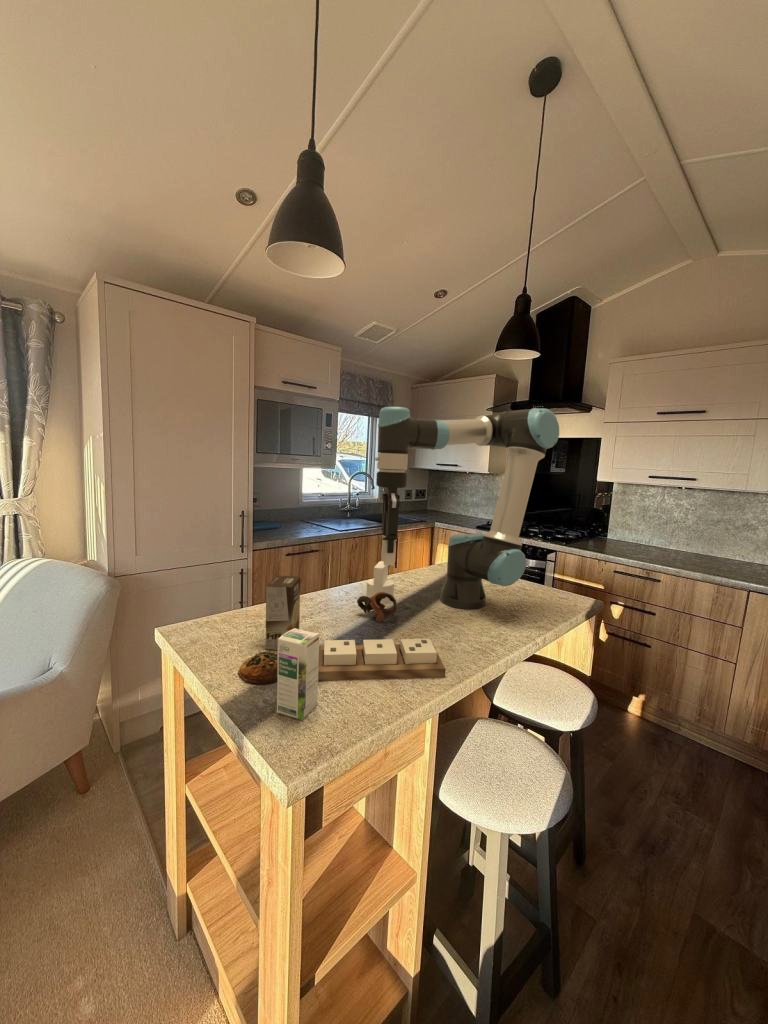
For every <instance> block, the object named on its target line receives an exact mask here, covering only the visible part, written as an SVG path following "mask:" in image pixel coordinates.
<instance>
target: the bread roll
mask: <svg viewBox="0 0 768 1024" xmlns="http://www.w3.org/2000/svg"><path fill="white" fill-rule="evenodd" d="M277 658H278V651H277V652H276V651H271V650H266V651H260V652H259V653H256V654H255V655H254V656H250V657H249V658H247V659H246V660H244V661H243V663H242V664H241V665H240V666H239V669H238V671H237V672H238V673H239V675H240V678H241V679H243V680H244V681H246V682H247V683H250V684H259V685H261V684H263V685H265V684H272V683H277V672H278V659H277ZM271 682H272V683H271Z"/></svg>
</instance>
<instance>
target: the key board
mask: <svg viewBox="0 0 768 1024" xmlns="http://www.w3.org/2000/svg"><path fill="white" fill-rule="evenodd" d="M394 645H395V649H396V652H397V664H374V665H365V662H364V654H363V644H355V647H356V665H328V666H324V645H319V667H318V682H319V681H348V680H349V681H351V680H357V681H358V680H390V679H391V680H392V679H426V678H427V679H429V678H446V667H445V665H444V663H443V661H442V659H441V657H440V655H439V653H438V651H437V649H436V647H435V646H434V644H433V646H434V648H435V650H436V652H437V657H436V663H420V664H405V661H404V658H403V655H402V652H401V649H400V648H401V643H400V644H394Z"/></svg>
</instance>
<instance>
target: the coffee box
mask: <svg viewBox="0 0 768 1024" xmlns="http://www.w3.org/2000/svg"><path fill="white" fill-rule="evenodd" d="M300 612H301V576H299V575H298V576H297V575H276V576H275V577H274V578H273V579H272V580H271V581H270V582H268V583H267V584H266V585H265V650H268V651H271V650H272V651H274V650H276V651H278V638H280V637H281V636H282V635H283V634H285V633H286V632H288V631H290V630H292V629H294V628H296V629H299V630H300V623H301V621H300V619H301V618H300V616H301V614H300Z"/></svg>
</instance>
